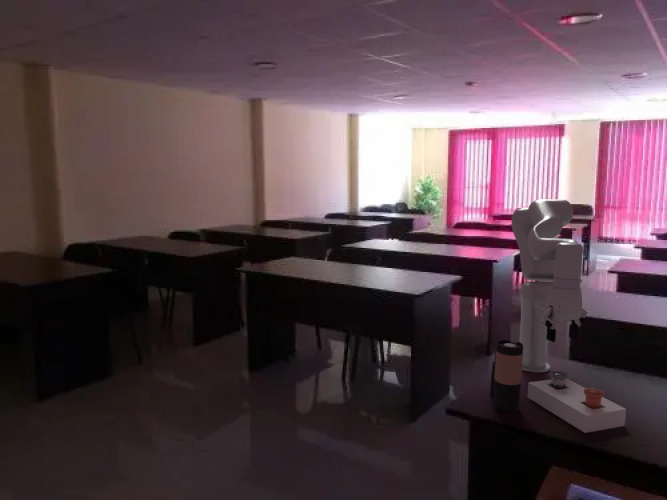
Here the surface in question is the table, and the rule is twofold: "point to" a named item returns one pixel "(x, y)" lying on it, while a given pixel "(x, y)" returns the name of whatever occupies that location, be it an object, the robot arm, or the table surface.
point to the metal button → (558, 379)
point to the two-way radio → (493, 375)
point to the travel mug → (508, 375)
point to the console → (576, 406)
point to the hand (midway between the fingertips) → (562, 339)
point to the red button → (593, 397)
